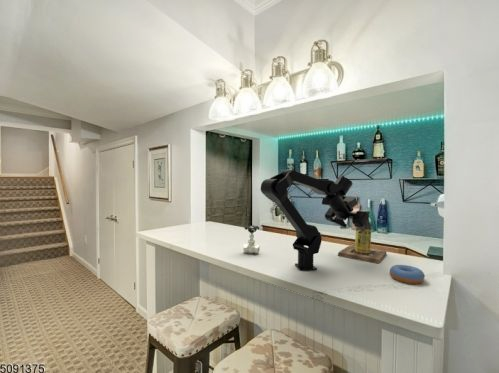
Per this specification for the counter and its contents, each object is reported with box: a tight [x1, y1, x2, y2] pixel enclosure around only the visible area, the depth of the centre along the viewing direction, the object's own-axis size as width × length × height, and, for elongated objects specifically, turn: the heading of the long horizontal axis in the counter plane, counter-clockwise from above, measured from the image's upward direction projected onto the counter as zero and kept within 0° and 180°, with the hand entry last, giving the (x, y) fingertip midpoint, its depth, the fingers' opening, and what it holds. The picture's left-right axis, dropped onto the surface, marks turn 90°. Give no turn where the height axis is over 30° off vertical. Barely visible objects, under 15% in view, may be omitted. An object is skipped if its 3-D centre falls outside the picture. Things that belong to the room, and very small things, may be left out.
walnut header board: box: [337, 244, 387, 264], centre depth 113 cm, size 16×16×2 cm
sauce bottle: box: [354, 209, 372, 256], centre depth 112 cm, size 6×6×20 cm
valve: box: [243, 224, 260, 255], centre depth 113 cm, size 7×7×12 cm
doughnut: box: [389, 264, 425, 285], centre depth 86 cm, size 10×10×5 cm
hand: (354, 228), depth 109 cm, fingers open, 9 cm apart
